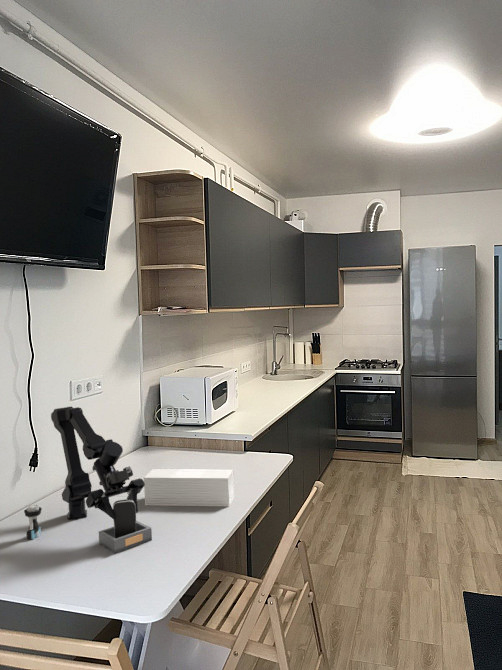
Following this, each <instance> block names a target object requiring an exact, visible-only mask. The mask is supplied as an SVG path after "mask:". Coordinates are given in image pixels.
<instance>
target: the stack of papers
mask: <svg viewBox="0 0 502 670" xmlns="http://www.w3.org/2000/svg"><path fill="white" fill-rule="evenodd" d="M143 481H144V483H145V485H144V487H143V490H144V492H143V493H144V494H143V495H144V506H161V507H163V506H166V507H167V506H170V507H171V506H173V507H174V506H175V507H178V506H179V507H230V506H231V504H232V502H233V500H234V498H235V486H234V484H235V481H234V469H204V468H203V469H192V468H191V469H190V468H189V469H186V468H185V469H182V468H181V469H180V468H179V469H178V468H177V469H175V468H174V469H173V468H171V469H167V468H164V469H163V468H160V469H159V468H152V469H151V470H150V471H149V472H148V473H147V474H146V475H145V476H144V477H143Z"/></svg>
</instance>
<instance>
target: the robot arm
mask: <svg viewBox="0 0 502 670" xmlns="http://www.w3.org/2000/svg"><path fill="white" fill-rule="evenodd" d="M50 418H51V422H52V423H53V427H54V428H55V429H56V431H58V433H60V437H61V443H62V447H63V448H62V449H63V452H64V459H65V462H66V463H65V464H66V468H67V475H66V478H65V480H64V485H65V487H64V489H63V491H62V493H61V498H62V501H64V502H66V503H67V505H68V512H67V520H73V519H81V518H87V516H88V510H87V509H86V506H87V508H88V509H91V508H94V509H98V510H100V511H102V512H103V513H105V514H106V515H107V516H109V517H110V518H111V520H112V519H114V520H116V515H115V513H114V511H113V505H111V503H110V498H111V497H115V496H119V495H122V494H127V497H126V499H132V500H133V501H134V503H135V506H136V514H137V513H138V512H139V509H138V494H139V493H140V492H141V491H142V490H143V489H144V485H145V483H144V479H143V478H136V479H132V480H130V478H131V477H133V476H134V472H133V469H132V467H131V466H130V465H129V466H127V467H123V469H122V470H120V471H119V469H117V470H116V468H115V465H116V464H117V462H118V460H119V459H120V457H121V456H122V454H123V451H124V450H123V446H122V445H121V444H119V443H118V442H115V441H114V440H113V439H112V438H109V439H105V438H104V437H103V436H102V435H99V434H97V433H96V432H95V430H94V429H93V428H92V426H91V424H90V423H89V421H88V420H87V418H86V416H85V415H84V412H83V409H82V408H81V407H73V406H66V407H65V406H64V407H59V408H54V409H53V412H51V414H50ZM76 433H77V435H78V437H79V439H80V440H81V442H82V444H83V445H82V451H83V455H84V457H85V458H86V459H87V460H95V459H96V460H95V461H94V462H93V464H92V471H95V472H96V475H97V476H98V480H99V486H102V488H103V489H102V488H99V489H96V490H95V489H94V490H92V485H93V484H92V482H91V479H90V474H89V472H86V471H85V470H83V467H82V462H81V458H80V454H79V448H78V442H77V438H76ZM127 480H128V481H129V480H130V482H129V483H128V485H125V484H126V481H127ZM124 485H125V486H124ZM114 520H113V521H114Z"/></svg>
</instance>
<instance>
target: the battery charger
mask: <svg viewBox="0 0 502 670" xmlns="http://www.w3.org/2000/svg"><path fill="white" fill-rule="evenodd" d="M112 509H113V511H114V513H115V515H116V520H114V519H113V527H114V531H115V538H119V537H122V536H125V535H128V534H131V533H134V532H136V521H137V513H136V506H135V503H134V501H133V500H132V499H127V498H126V499H119V500H116V501H114V503H113V505H112Z"/></svg>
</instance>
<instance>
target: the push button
mask: <svg viewBox="0 0 502 670" xmlns="http://www.w3.org/2000/svg"><path fill="white" fill-rule="evenodd" d="M42 509H43V508H42V507H40V506H39V505H38V504H31V505H28V506H27V507H26V509H24V510H23V512H24V516H25V517H27V518H28V520H29V521H28V522H29V526H28V530H26V539H27V540H35V539H36V538H37V537H40V535H41V534H42V533H41V532H42V529H41V528H42V527H41V526H40V525H39V516H40V515H41V513H42Z"/></svg>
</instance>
